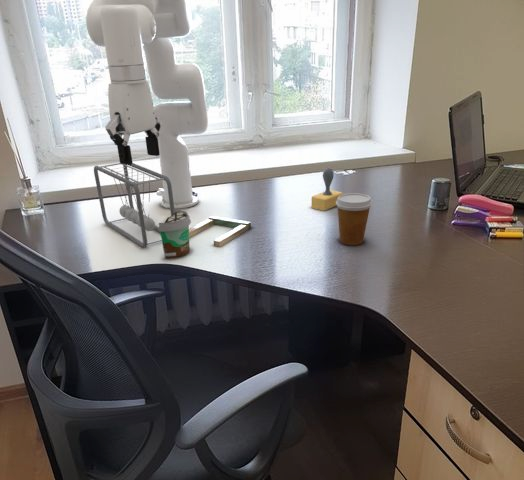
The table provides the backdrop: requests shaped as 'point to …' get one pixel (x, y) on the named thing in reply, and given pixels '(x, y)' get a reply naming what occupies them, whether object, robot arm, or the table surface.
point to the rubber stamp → (326, 193)
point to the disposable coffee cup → (353, 217)
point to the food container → (175, 234)
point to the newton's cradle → (127, 211)
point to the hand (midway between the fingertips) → (140, 159)
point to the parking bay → (237, 224)
